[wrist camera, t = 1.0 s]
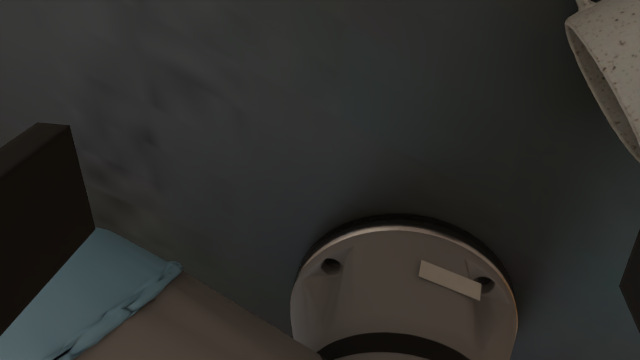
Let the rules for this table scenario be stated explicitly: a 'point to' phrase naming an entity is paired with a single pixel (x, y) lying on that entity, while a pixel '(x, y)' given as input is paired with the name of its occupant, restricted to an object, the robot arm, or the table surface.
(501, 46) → the table surface
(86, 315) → the robot arm
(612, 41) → the ceramic mug
